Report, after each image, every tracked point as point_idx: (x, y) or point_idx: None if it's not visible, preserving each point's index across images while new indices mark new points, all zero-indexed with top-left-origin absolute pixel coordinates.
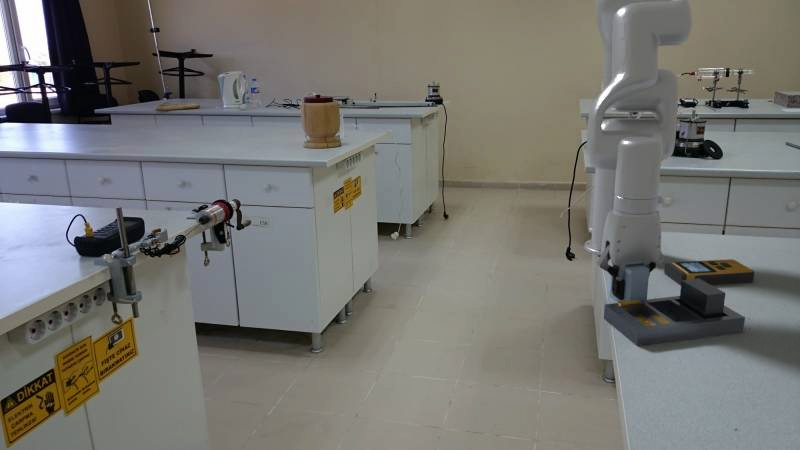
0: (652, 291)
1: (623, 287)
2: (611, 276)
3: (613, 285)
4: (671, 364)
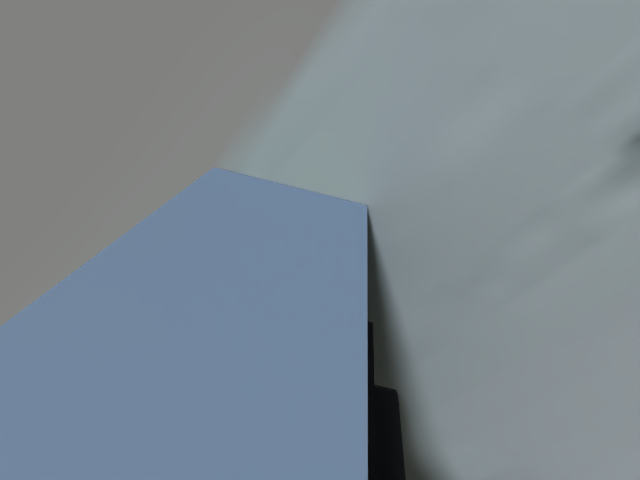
0: (628, 265)
1: None
2: (112, 247)
3: None
4: None
